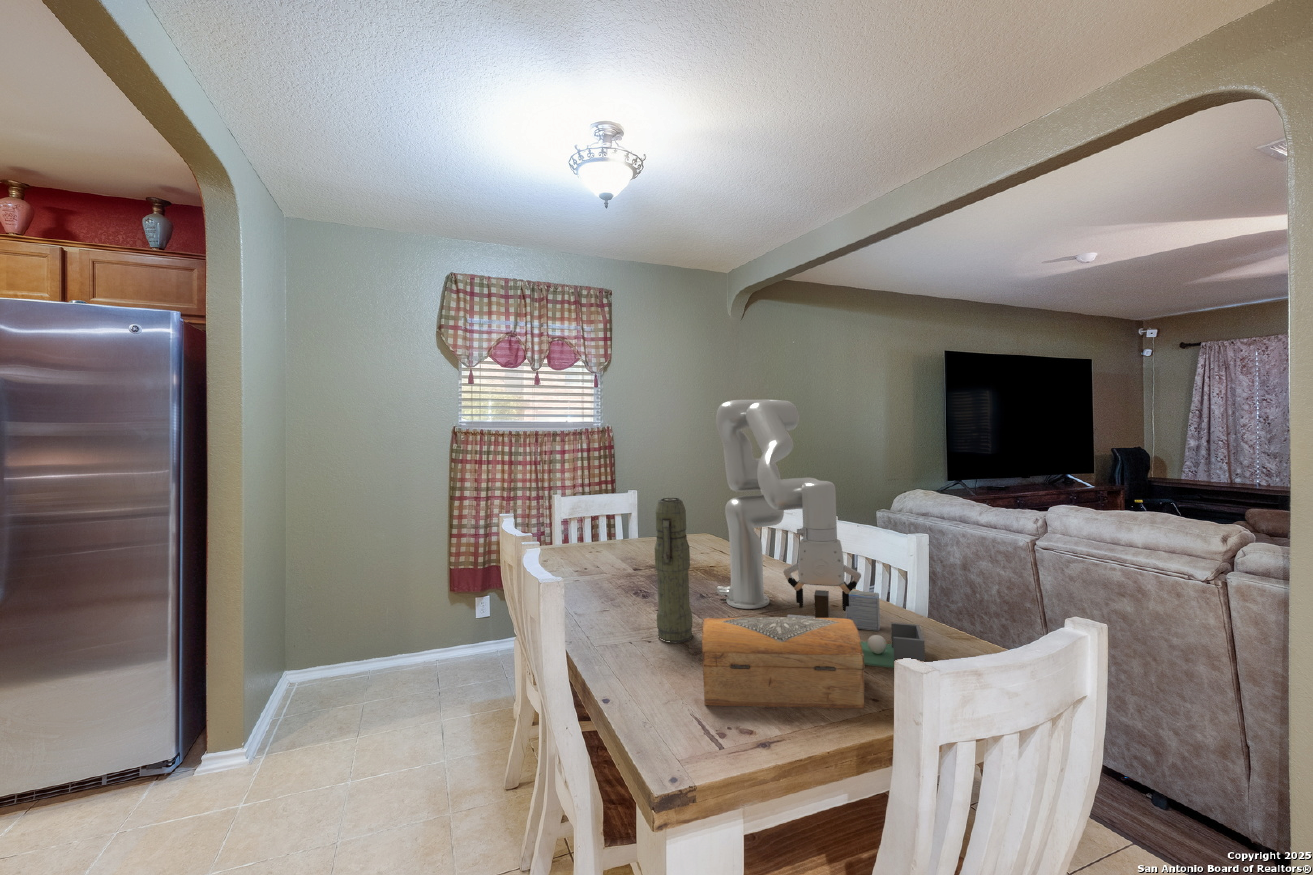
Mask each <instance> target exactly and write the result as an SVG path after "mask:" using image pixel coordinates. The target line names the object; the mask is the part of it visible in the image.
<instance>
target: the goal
mask: <svg viewBox="0 0 1313 875" xmlns="http://www.w3.org/2000/svg"><path fill="white" fill-rule="evenodd" d="M890 633H891V634H890V635H891V636H890V638H891V639H890V640H891V642H890V643H891V644H892V648H894V661H895V660H897V659H903V658H911V659H917V660H920V661H924V662H925V663H926V654H925V653H926V650H925V649H926V648H925V638H924V635H923V632H922V628H921V625H920V624H914V623H903V622H901V623H900V622H893V621H892V622H890Z"/></svg>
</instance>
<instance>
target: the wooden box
mask: <svg viewBox="0 0 1313 875" xmlns="http://www.w3.org/2000/svg"><path fill="white" fill-rule="evenodd" d="M701 637H702V639H701V640H702V641H701V643H702V645H701V646H702V676H703V699H704V700H703V701H704V705H705V706H713V707H714V706H717V707H719V706H720V707H721V706H723V707H758V708H759V707H761V708H762V707H765V708H767V707H768V708H769V707H770V708H810V709H811V708H817V709H819V708H821V709H864V708H865V666H866V665H864V655H863V652H862V647H861V636H860V632H859V629H857V627H856V625H855V623H854V622H853V621H852V620H850V619H846V618H841V617H840V618H839V617H829V618H798V617H787V616H785V617H783V616H777V617H775V616H774V617H773V616H769V617H764V616H763V617H761V616H760V617H755V616H754V617H723V618H722V617H717V618H716V617H712V618H711V617H709V618H708V617H707V618H704V619H703V623H702V636H701Z"/></svg>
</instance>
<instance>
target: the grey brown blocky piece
mask: <svg viewBox="0 0 1313 875" xmlns="http://www.w3.org/2000/svg"><path fill="white" fill-rule="evenodd" d="M829 591H830V590H819V589H815V591H814V595H813V597H814V598H813V599H814V601H813V602H814V616H811V615H800V614H799V615H796V614H787V615H786V617H798V618H830V592H829ZM852 621H853V620H852Z"/></svg>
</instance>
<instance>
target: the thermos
mask: <svg viewBox="0 0 1313 875" xmlns="http://www.w3.org/2000/svg"><path fill="white" fill-rule="evenodd" d="M686 512H687V511H686V507H685V503H684V502H683V499H680V498H678V497H663V498H661V499H660V500H658V502H657V504H656V509H655V530H656V537H655V538H656V541H655V545H654V568H655V570H656V576H657V601H658V602H657V603H658V604H657V605H658V610H657V613H656V628H657V637H658V636H659V638H661V639H663V640H665V641H670V642H682V643H685V642H684V641H686V642H688V641H690V640H691V639H693V638H692V637H693V630H692V628H693V613H692V607H691V604H690V585H689V584H690V582H689V581H690V580H689V577H690V576H689V570H690V567H691V559H690V558H691V557H690V554H691V552H690V551H691V550H690V545H689V544H690V543H689V542H688V539H687V538H688V537H687V536H688V535H687V532H686V531H687V514H686ZM659 638H658V639H659ZM690 638H691V639H690ZM689 639H690V640H689ZM687 640H688V641H687Z"/></svg>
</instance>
